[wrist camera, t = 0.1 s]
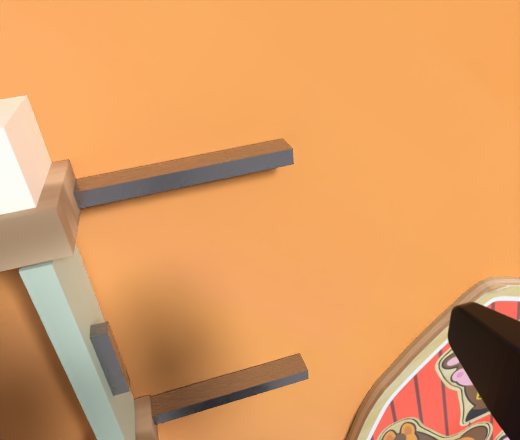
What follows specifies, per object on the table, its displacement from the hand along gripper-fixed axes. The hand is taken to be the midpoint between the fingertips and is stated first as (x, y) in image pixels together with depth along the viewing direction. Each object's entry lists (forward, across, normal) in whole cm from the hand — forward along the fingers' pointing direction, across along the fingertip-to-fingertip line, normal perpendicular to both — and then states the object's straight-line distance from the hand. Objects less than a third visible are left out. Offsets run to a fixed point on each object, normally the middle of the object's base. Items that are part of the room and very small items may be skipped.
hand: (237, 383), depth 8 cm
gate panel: (+15, +6, +9) cm, 18 cm away
